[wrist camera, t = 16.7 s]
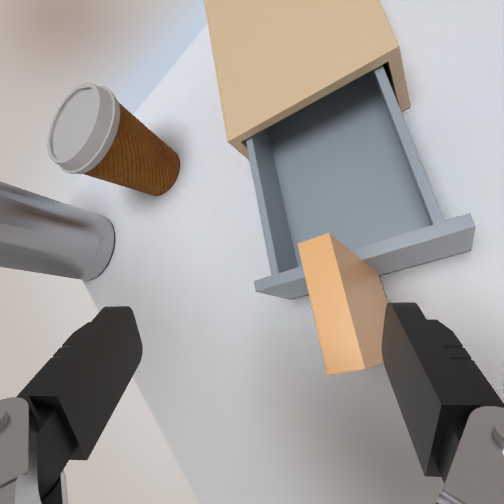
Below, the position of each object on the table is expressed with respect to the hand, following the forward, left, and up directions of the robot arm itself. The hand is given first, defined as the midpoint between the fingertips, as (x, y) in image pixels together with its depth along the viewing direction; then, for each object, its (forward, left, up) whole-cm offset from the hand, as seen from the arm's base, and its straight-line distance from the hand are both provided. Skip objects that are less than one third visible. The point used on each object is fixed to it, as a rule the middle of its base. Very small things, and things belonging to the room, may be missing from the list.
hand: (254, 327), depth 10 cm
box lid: (-13, +24, -18) cm, 33 cm away
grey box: (-5, +10, -17) cm, 21 cm away
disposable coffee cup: (-30, +11, -18) cm, 37 cm away
